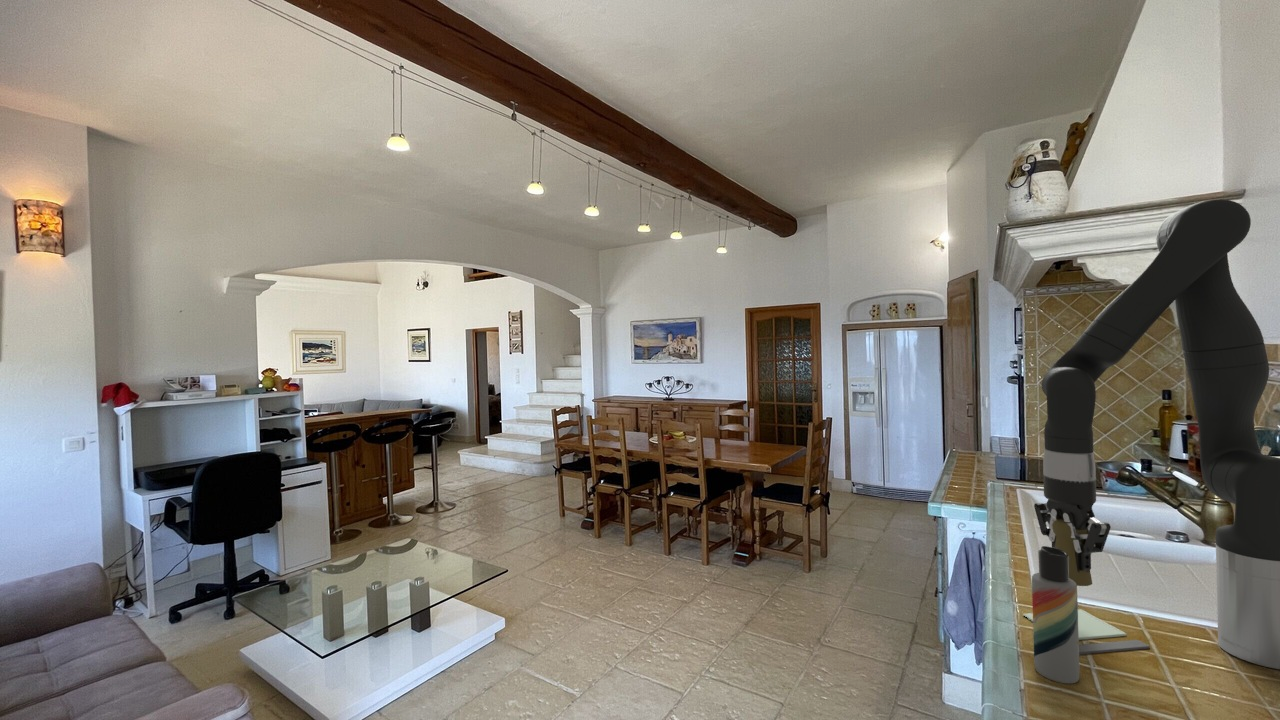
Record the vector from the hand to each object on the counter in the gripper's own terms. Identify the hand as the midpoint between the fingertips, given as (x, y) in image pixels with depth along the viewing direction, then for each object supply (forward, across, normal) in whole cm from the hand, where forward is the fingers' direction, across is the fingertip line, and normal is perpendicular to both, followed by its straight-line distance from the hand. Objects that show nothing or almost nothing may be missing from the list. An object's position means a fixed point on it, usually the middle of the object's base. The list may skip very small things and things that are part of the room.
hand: (1070, 566), depth 98 cm
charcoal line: (+11, -8, +2) cm, 13 cm away
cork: (+2, 0, 0) cm, 2 cm away
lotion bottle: (+11, -12, +15) cm, 22 cm away
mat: (+11, 0, 0) cm, 11 cm away
